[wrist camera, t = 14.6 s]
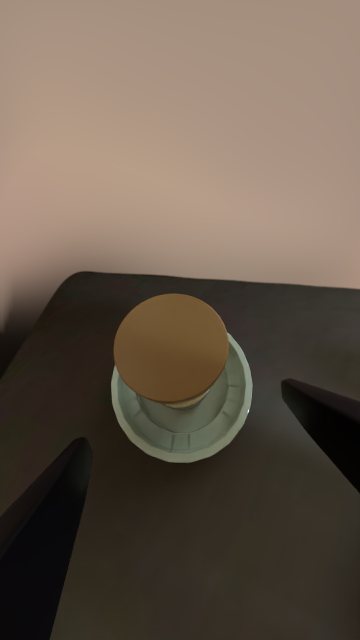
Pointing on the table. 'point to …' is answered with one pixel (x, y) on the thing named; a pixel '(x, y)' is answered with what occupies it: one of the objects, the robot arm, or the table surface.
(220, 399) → the bowl
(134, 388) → the tea tin
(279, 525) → the table surface
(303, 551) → the table surface
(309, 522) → the table surface
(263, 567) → the table surface
